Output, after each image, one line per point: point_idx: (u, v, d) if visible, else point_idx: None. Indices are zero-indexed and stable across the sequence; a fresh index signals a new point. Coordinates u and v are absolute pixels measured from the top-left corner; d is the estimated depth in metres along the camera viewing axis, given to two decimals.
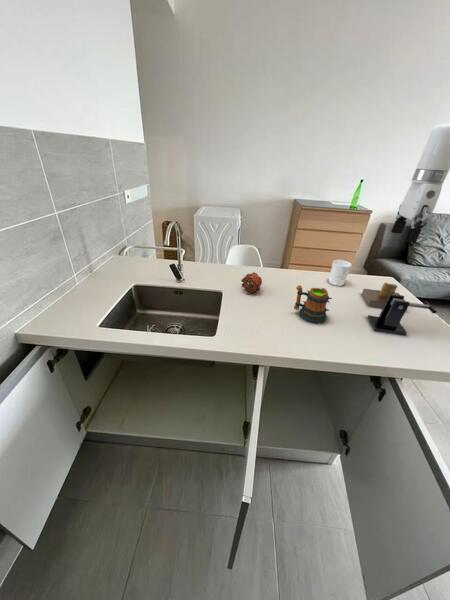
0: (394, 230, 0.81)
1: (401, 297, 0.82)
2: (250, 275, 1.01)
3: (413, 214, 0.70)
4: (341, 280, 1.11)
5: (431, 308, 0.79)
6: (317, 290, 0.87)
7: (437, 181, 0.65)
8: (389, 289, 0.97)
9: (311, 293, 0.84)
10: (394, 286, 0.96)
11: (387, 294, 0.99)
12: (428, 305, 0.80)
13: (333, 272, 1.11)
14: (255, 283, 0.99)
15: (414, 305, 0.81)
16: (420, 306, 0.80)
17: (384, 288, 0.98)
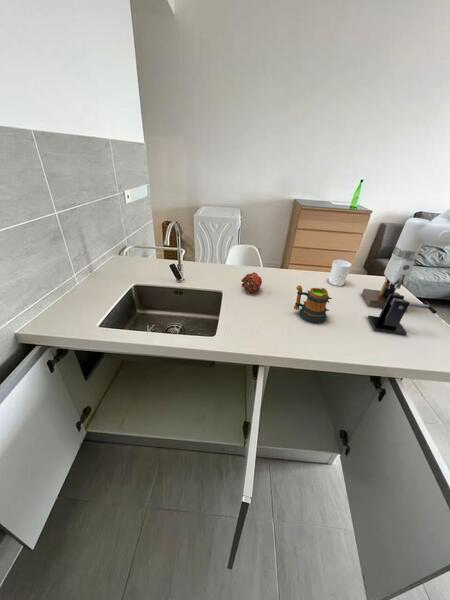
0: None
1: (401, 297, 0.82)
2: (250, 275, 1.01)
3: (393, 280, 0.91)
4: (341, 280, 1.11)
5: (431, 308, 0.79)
6: (317, 290, 0.87)
7: (410, 258, 0.87)
8: None
9: (311, 293, 0.84)
10: None
11: None
12: (428, 305, 0.80)
13: (333, 272, 1.11)
14: (255, 283, 0.99)
15: (414, 305, 0.81)
16: (420, 306, 0.80)
17: (384, 288, 0.98)
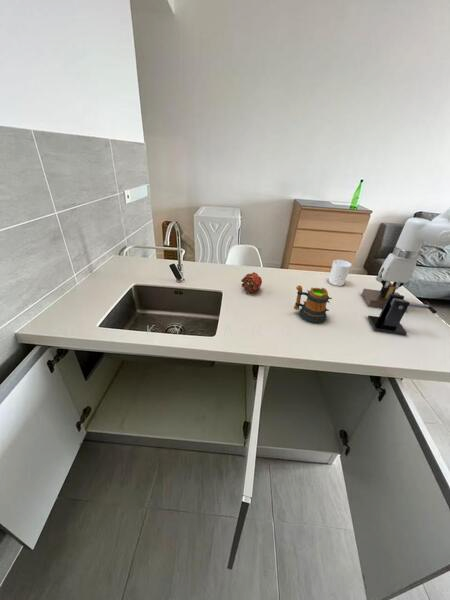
0: None
1: (401, 297, 0.82)
2: (250, 275, 1.01)
3: (409, 279, 0.93)
4: (341, 280, 1.11)
5: (431, 308, 0.79)
6: (317, 290, 0.87)
7: None
8: None
9: (311, 293, 0.84)
10: None
11: None
12: (428, 305, 0.80)
13: (333, 272, 1.11)
14: (255, 283, 0.99)
15: (414, 305, 0.81)
16: (420, 306, 0.80)
17: None
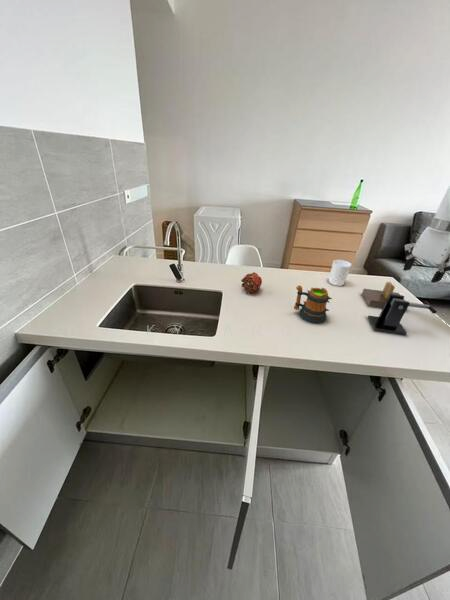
0: (406, 268, 0.87)
1: (401, 297, 0.82)
2: (250, 275, 1.01)
3: (442, 260, 0.76)
4: (341, 280, 1.11)
5: (431, 308, 0.79)
6: (317, 290, 0.87)
7: None
8: None
9: (311, 293, 0.84)
10: None
11: None
12: (428, 305, 0.80)
13: (333, 272, 1.11)
14: (255, 283, 0.99)
15: (414, 305, 0.81)
16: (420, 306, 0.80)
17: None
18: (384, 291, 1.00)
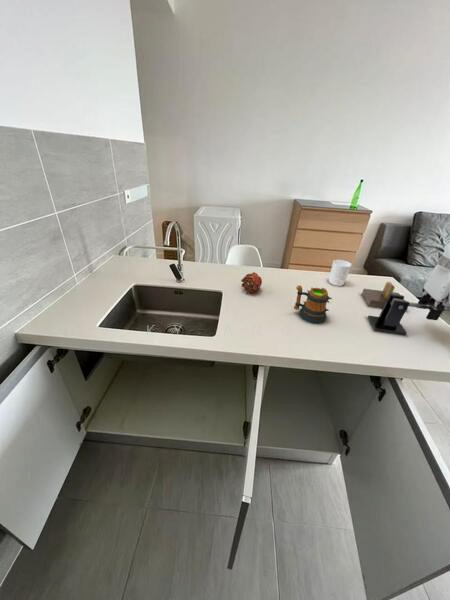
0: None
1: (401, 297, 0.82)
2: (250, 275, 1.01)
3: (440, 297, 0.74)
4: (341, 280, 1.11)
5: None
6: (317, 290, 0.87)
7: None
8: None
9: (311, 293, 0.84)
10: None
11: None
12: (428, 305, 0.80)
13: (333, 272, 1.11)
14: (255, 283, 0.99)
15: (414, 305, 0.81)
16: (420, 306, 0.80)
17: None
18: (384, 291, 1.00)
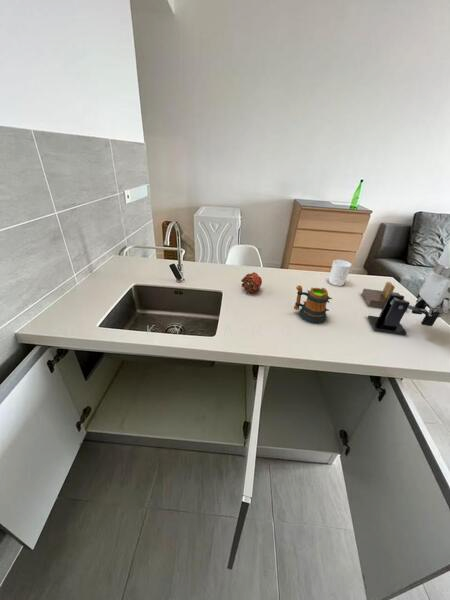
0: (414, 311, 0.85)
1: (401, 297, 0.82)
2: (250, 275, 1.01)
3: (434, 304, 0.75)
4: (341, 280, 1.11)
5: (427, 313, 0.80)
6: (317, 290, 0.87)
7: None
8: None
9: (311, 293, 0.84)
10: None
11: None
12: (425, 310, 0.81)
13: (333, 272, 1.11)
14: (255, 283, 0.99)
15: (412, 308, 0.81)
16: (417, 310, 0.81)
17: None
18: (384, 291, 1.00)
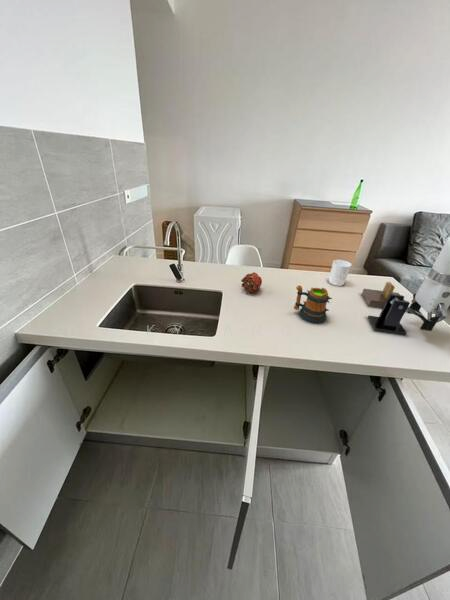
0: None
1: (401, 297, 0.82)
2: (250, 275, 1.01)
3: (429, 309, 0.76)
4: (341, 280, 1.11)
5: (423, 317, 0.81)
6: (317, 290, 0.87)
7: None
8: None
9: (311, 293, 0.84)
10: None
11: None
12: (421, 314, 0.82)
13: (333, 272, 1.11)
14: (255, 283, 0.99)
15: (410, 310, 0.82)
16: (415, 313, 0.82)
17: None
18: (384, 291, 1.00)
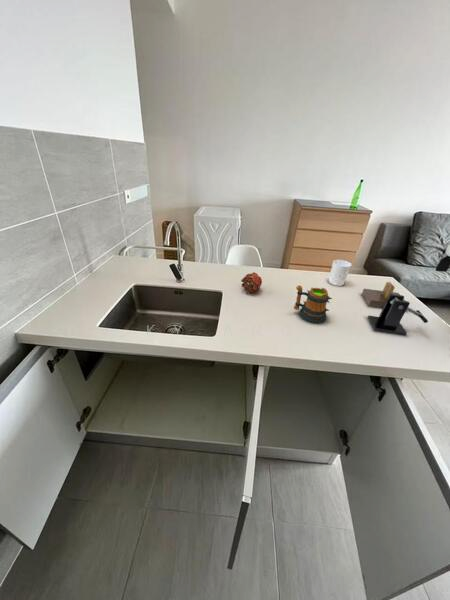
0: (439, 269, 0.80)
1: (401, 297, 0.82)
2: (250, 275, 1.01)
3: None
4: (341, 280, 1.11)
5: (423, 317, 0.81)
6: (317, 290, 0.87)
7: None
8: None
9: (311, 293, 0.84)
10: None
11: None
12: (421, 314, 0.82)
13: (333, 272, 1.11)
14: (255, 283, 0.99)
15: (410, 310, 0.82)
16: (415, 313, 0.82)
17: None
18: (384, 291, 1.00)
